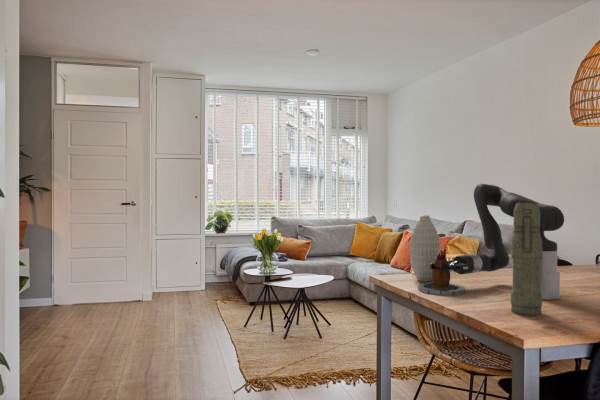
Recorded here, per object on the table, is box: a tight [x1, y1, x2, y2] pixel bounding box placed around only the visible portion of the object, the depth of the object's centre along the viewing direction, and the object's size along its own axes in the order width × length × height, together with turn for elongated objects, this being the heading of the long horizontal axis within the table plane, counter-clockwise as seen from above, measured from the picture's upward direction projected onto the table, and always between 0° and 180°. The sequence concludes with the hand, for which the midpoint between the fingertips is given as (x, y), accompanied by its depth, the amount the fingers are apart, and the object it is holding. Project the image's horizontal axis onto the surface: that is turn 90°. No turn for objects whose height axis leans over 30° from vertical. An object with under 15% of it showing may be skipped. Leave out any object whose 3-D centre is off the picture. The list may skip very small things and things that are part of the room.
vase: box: [409, 214, 441, 282], centre depth 207 cm, size 13×13×28 cm
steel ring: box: [417, 282, 466, 296], centre depth 184 cm, size 17×17×2 cm
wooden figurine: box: [432, 248, 451, 289], centre depth 184 cm, size 7×6×15 cm
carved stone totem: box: [510, 202, 543, 317], centre depth 150 cm, size 9×12×35 cm
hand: (436, 267), depth 183 cm, fingers closed on wooden figurine, 4 cm apart
